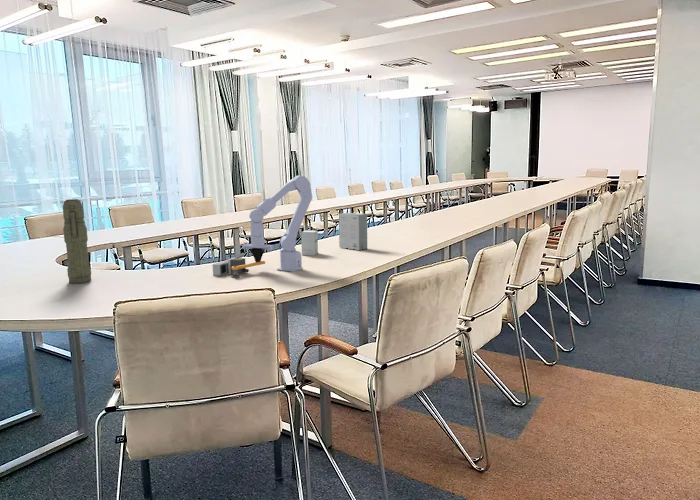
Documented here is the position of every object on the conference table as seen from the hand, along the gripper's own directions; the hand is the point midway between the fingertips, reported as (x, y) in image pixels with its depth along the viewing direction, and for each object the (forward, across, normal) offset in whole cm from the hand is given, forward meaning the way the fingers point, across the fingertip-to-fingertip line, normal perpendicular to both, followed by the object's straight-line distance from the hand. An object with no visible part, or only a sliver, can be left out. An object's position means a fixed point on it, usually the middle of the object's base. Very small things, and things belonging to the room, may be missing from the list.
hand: (258, 264), depth 243 cm
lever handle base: (+3, +4, +14) cm, 15 cm away
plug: (+3, +6, +6) cm, 9 cm away
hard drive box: (+3, -26, -69) cm, 74 cm away
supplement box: (+3, -8, -46) cm, 46 cm away
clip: (0, +1, +7) cm, 7 cm away
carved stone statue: (+3, +65, +38) cm, 76 cm away
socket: (+3, +13, +6) cm, 14 cm away
